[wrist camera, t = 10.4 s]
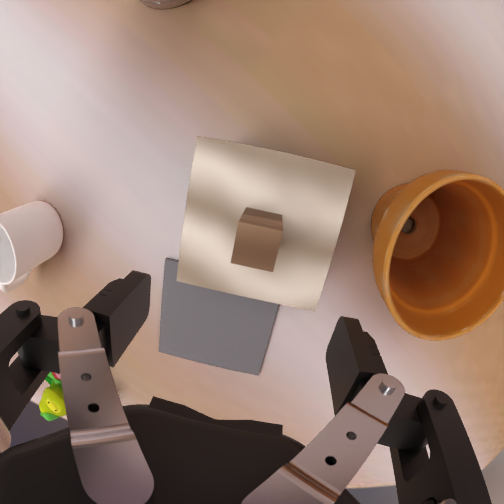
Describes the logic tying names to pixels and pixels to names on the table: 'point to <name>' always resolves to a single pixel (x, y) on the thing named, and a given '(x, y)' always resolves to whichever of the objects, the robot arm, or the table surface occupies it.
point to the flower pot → (440, 253)
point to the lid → (261, 222)
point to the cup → (27, 241)
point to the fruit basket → (53, 398)
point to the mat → (213, 325)
